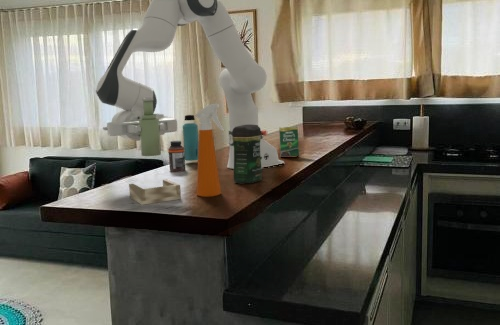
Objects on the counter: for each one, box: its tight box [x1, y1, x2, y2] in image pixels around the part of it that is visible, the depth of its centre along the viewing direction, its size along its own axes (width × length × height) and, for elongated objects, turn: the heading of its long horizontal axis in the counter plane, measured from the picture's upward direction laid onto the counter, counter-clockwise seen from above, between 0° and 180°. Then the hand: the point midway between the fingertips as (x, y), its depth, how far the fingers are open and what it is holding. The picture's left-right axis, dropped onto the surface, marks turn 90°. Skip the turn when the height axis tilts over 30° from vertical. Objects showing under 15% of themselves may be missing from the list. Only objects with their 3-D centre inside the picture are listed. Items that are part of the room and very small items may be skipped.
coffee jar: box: [232, 124, 263, 185], centre depth 159 cm, size 10×8×19 cm
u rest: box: [128, 178, 182, 206], centre depth 141 cm, size 11×11×4 cm
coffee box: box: [278, 126, 300, 157], centre depth 209 cm, size 8×3×13 cm, turn 86°
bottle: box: [139, 98, 162, 157], centre depth 138 cm, size 5×5×16 cm
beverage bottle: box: [182, 114, 199, 162], centre depth 204 cm, size 6×7×20 cm
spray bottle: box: [194, 103, 225, 198], centre depth 141 cm, size 7×11×26 cm, turn 49°
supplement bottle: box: [167, 140, 186, 173], centre depth 187 cm, size 6×6×11 cm
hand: (150, 128), depth 138 cm, fingers closed on bottle, 5 cm apart
